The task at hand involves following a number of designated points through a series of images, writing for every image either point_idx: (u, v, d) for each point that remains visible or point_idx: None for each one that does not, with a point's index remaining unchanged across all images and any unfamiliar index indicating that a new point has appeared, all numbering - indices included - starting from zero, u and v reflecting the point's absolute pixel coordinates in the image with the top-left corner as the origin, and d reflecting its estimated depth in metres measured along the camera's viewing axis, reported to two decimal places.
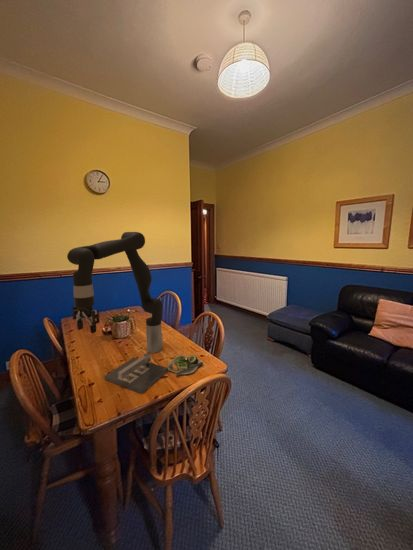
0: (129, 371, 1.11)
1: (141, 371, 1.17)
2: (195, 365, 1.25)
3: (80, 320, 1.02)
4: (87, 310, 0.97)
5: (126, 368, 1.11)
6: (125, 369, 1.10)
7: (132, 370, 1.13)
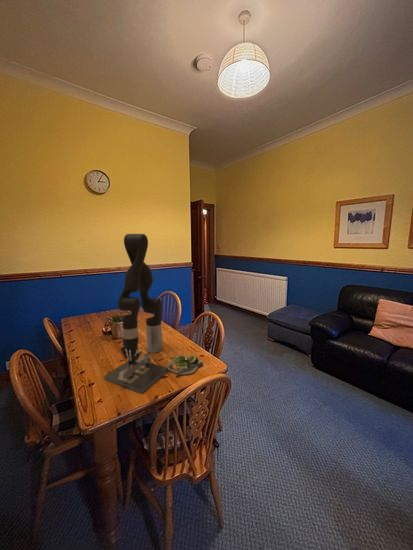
0: (130, 371, 1.11)
1: (141, 371, 1.17)
2: (195, 365, 1.25)
3: None
4: (133, 348, 1.15)
5: (127, 368, 1.11)
6: (126, 369, 1.10)
7: (133, 370, 1.13)
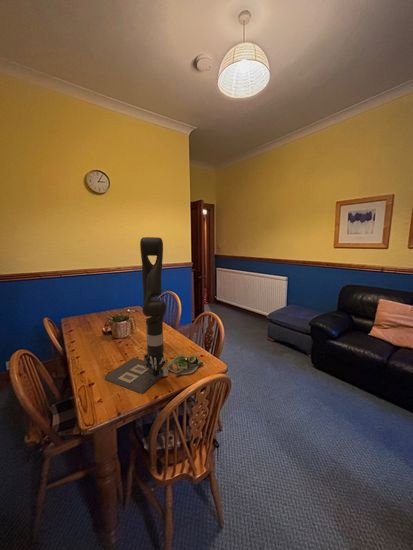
0: None
1: (141, 371, 1.17)
2: (195, 365, 1.25)
3: None
4: (159, 356, 1.08)
5: None
6: (162, 367, 1.12)
7: None
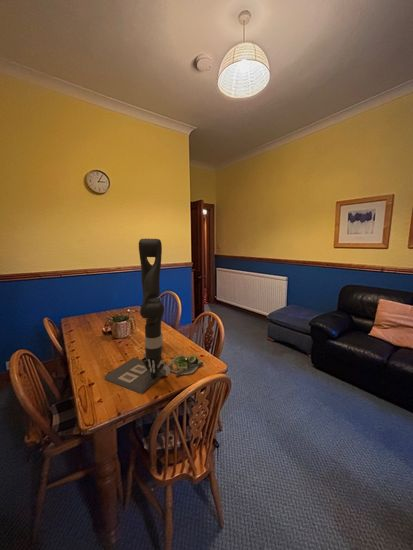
0: None
1: (141, 371, 1.17)
2: (195, 365, 1.25)
3: None
4: (157, 359, 1.05)
5: None
6: (164, 366, 1.13)
7: None
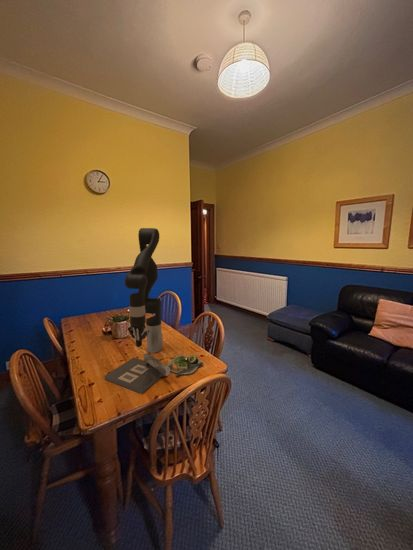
0: None
1: (141, 371, 1.17)
2: (195, 366, 1.25)
3: None
4: (141, 327, 1.13)
5: (162, 365, 1.14)
6: (164, 366, 1.13)
7: None
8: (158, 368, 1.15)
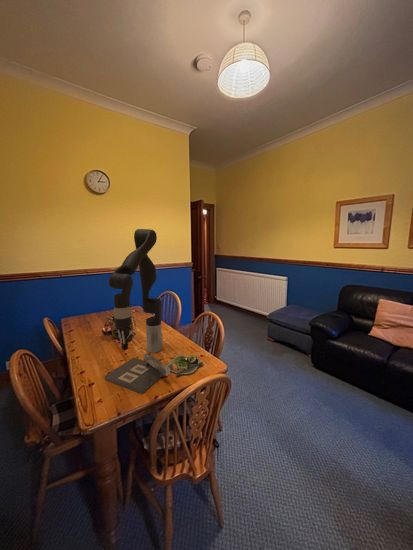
0: None
1: (141, 371, 1.17)
2: (195, 365, 1.25)
3: None
4: (126, 329, 1.07)
5: (162, 365, 1.14)
6: (164, 366, 1.13)
7: None
8: (158, 368, 1.15)
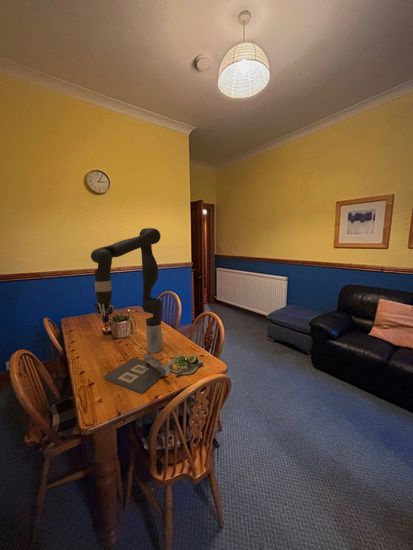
0: None
1: (141, 371, 1.17)
2: (195, 366, 1.25)
3: None
4: (106, 302, 1.13)
5: (162, 365, 1.14)
6: (164, 366, 1.13)
7: None
8: (158, 368, 1.15)
